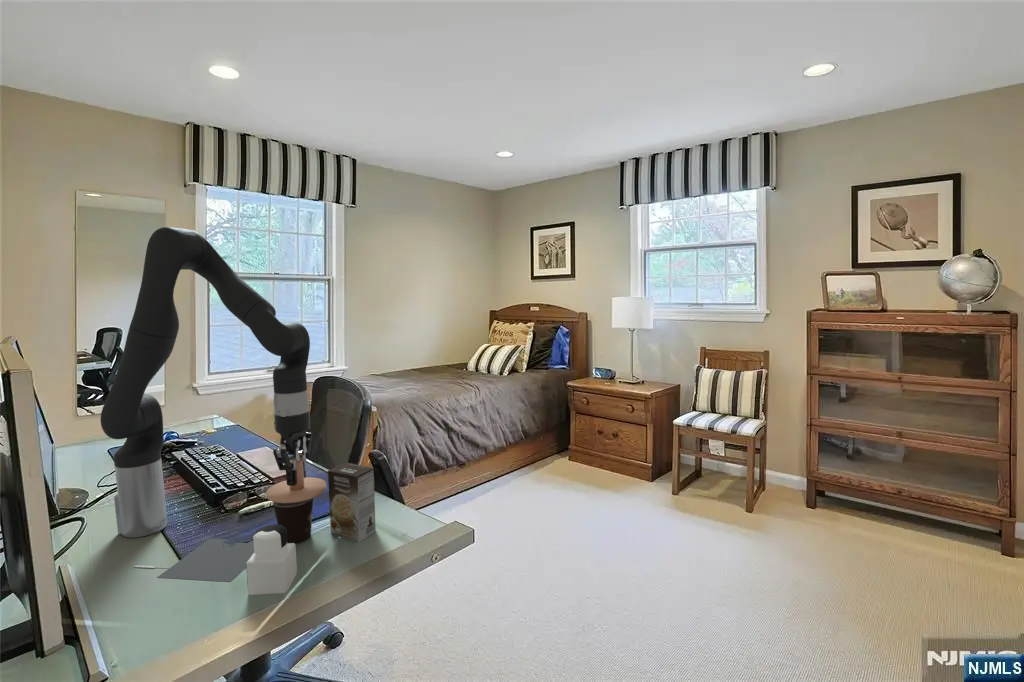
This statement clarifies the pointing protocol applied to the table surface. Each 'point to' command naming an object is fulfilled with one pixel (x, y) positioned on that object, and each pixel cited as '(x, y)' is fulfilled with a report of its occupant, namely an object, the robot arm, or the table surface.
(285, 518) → the coffee mug
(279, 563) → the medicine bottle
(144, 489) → the robot arm
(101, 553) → the table surface
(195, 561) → the mat
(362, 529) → the coffee box
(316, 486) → the terracotta lid
